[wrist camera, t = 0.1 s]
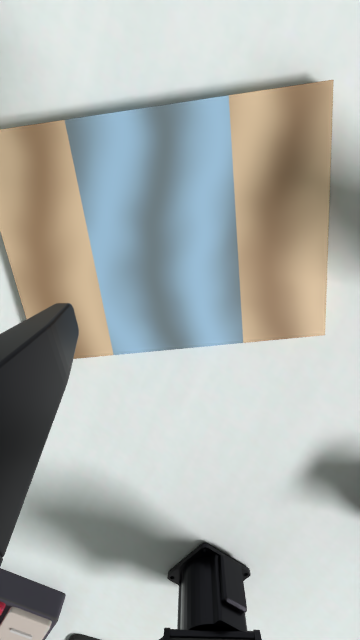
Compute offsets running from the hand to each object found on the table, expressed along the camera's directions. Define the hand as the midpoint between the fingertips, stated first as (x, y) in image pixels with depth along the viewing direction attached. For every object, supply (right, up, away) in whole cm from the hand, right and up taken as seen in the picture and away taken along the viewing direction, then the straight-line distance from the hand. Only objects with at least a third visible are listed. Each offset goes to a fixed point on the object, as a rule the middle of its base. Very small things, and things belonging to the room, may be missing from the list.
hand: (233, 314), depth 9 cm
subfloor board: (-3, +5, +14) cm, 16 cm away
